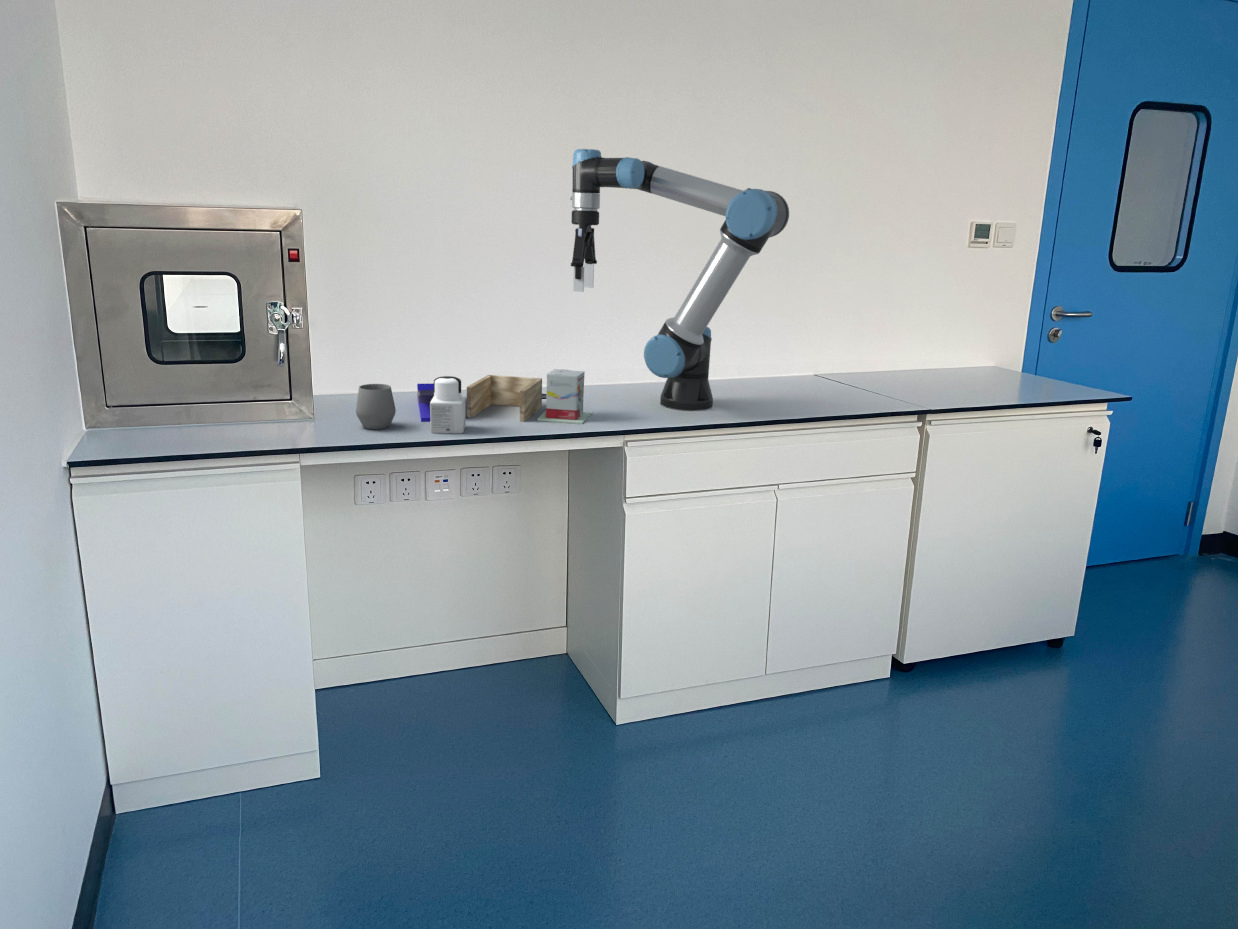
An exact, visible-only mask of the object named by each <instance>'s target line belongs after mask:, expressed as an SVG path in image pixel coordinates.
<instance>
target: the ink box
mask: <svg viewBox="0 0 1238 929" xmlns="http://www.w3.org/2000/svg"><path fill="white" fill-rule="evenodd" d="M585 373H586V372H585V371H583V370H582V371H581V370H570V369H564V368H563V369H562V368H561V369H558V368H554V369H553V370H551V371H548V373H546V396H545V397H546V400H545V402H546V403H545V406H546V407H545V412H546V418H556V419H570V420H577V419H578V418H579V417H580V416H581V415H582V414H583V412H584V390H585Z"/></svg>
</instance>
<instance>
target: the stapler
mask: <svg viewBox="0 0 1238 929" xmlns="http://www.w3.org/2000/svg"><path fill="white" fill-rule="evenodd" d="M416 386H417V388H416V389H417V392H416V396H417V397H416V399H417V404H418V406H417V407H418V411H419V416H420V422H421V423H423V422H424V423H425V422H429V423H430V402H431V400H432V399H433V397H434V382H433V383H417V385H416Z"/></svg>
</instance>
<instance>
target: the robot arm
mask: <svg viewBox="0 0 1238 929" xmlns="http://www.w3.org/2000/svg"><path fill="white" fill-rule="evenodd" d="M572 156H573V157H572V165H571V169H572V187H571V188H572V190H571V191H572V193H571V194H572V195H571V196H570V197H569V199H570V201H571V208H572V209H574V210H572V211H571V222H570V223H571V224H572V225H578V227H577V228H575V230H574V231H575V234H574V245H573V252H572V258H571V259H572V261H571V262H570V267H573V283H572V284H573V287H572V288H573V292H581V293H582V292H584V291H585V289H584V288H589V289H590V288H591V289H593V288H594V278H595V277H594V276H595V274H594V273H595V265H597V264H598V260H597V258H596V257H597V256H596V247H595V246H596V245H595V228H594V227H592V226H599V224H600V212H599V211H600V210H599V209H600V208H601V207H600V206H601V204H600V203H601V202H600V201H601V188H614V189H615V188H617V189H629V190H639V191H642V192H645V193H647V194H653V195H655V196H659V197H661V198H665V199H668V200H672V201H675V202H678V203H681V204H684V205H687V206H691V207H694V208H697V209H700V210H703V211H707V212H710V213H712V214H716V215H720V216H723V217H725V220H724V222H723V224H722V225H721V227H720V229H719V233H720V239H719V240H720V241H719V242H718V243H717V246H716V247H715V249H714V251H712V253H711V255H710V256H709V259H708V261H707V262H706V264H705V266H704V267H703V269H702V270H701V272H700V274H699V276H697V279H696V280H695V282H694V284H693V285H692V288H691V289H690V291H689V292H688V294H687V296H686V297H685V298H684V300H683V302H682V304H681V306H680V308H679V309H678V310H677V313H676V314H675V315H674V316H673V317H669V318H667V319H666V320H665V322H664V323H663V325H662V326H661V328H660V330H659V331H658V333H657V334H656V335H654V336H652V337H651V338H650V339H649V340H648V341H646V342H647V343H646V344H645V346H644V350H643V358H644V359H643V360H644V361H645V365H646V368H647V369H648V370H649V371H650V372H651V373H652V374H653V375H654V376H657V377H659V378H662V379H666V381H665V383H664V386H663V389H662V391H661V394H660V403H659V404H660V406H663V407H665V408H668V409H673V410H678V411H679V410H681V411H703V410H704V411H705V410H709V409H711V408H712V407H713V406H714V404H713V403H714V398H713V393H712V389H711V385H710V381H709V373H710V362H711V361H710V359H711V349H712V348H711V345H712V330H711V328H710V327H708V325H709V324H710V322H711V320H712V318H713V317H714V316H715V313H717V311H718V309H719V308H720V306H721V304H722V303H723V301H724V300H725V298H726V296H727V295H728V293H729V291H730V290H731V288H732V286H733V285H734V284H735V281H736V280H737V278H738V277H739V275H740V273H741V272H742V271H743V269H744V267H745V265H746V264H747V262H748V261H749V259H750V258H751V257H752V256H755V255H759V254H760V253H761V251H762V249H763V248H764V246H765V245H766V243H767V242H768V240H769V238H772V237H775V236H777V235H779V234H780V233H781V232H782V231H784V229H785V228H786V226H787V225H788V222H789V220H790V208H789V205H788V202H787V201H786V200H785V198H784V196H782V195H781V194H779V193H778V192H775V191H772V190H764V189H761V188H750V187H747V188H746V189H743V190H742V189H740V188H736V187H733V186H729V185H725V184H723V183H719V182H716V181H712V180H710V179H709V180H708V179H705V178H702V177H698V176H696V175H691V174H688V173H684V172H681V171H678V170H675V169H672V168H669V167H664V166H662V165H661V166H660V165H657V164H654V163H653V162H650V161H646V160H640V159H639V158H637V157H636V158H635V157H628V156H627V157H603V156H602V152H601V151H600V150H599V149H593V148H591V149H590V148H588V149H587V148H577V149H575V150H574V152H573V155H572ZM598 210H599V211H598Z"/></svg>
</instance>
